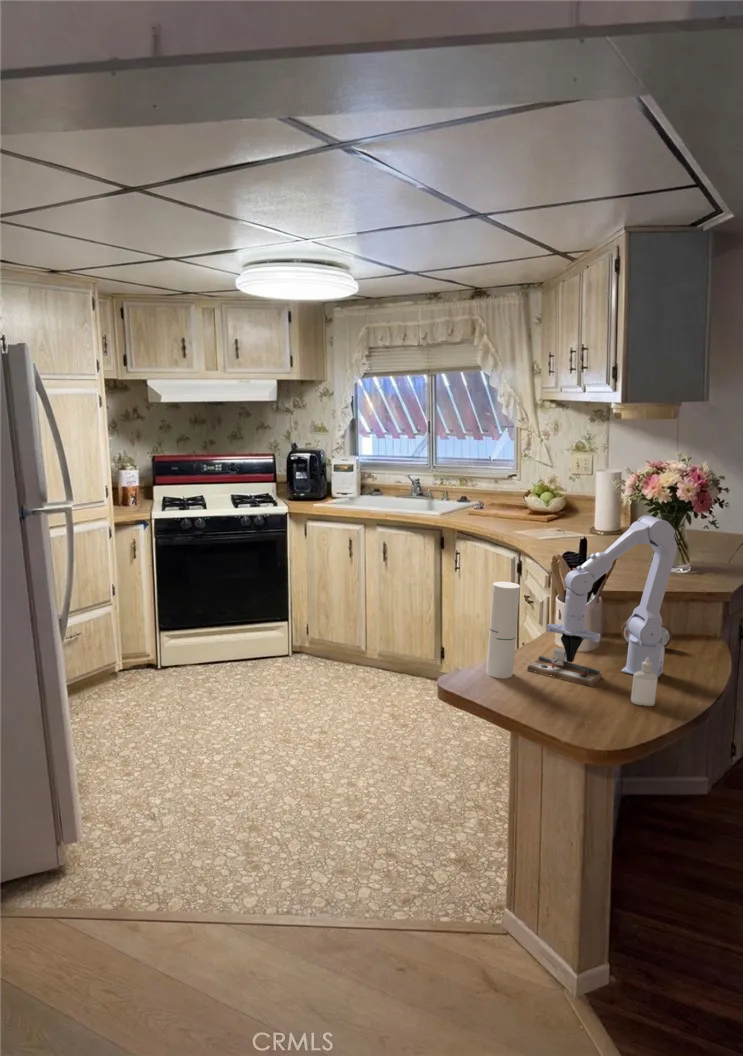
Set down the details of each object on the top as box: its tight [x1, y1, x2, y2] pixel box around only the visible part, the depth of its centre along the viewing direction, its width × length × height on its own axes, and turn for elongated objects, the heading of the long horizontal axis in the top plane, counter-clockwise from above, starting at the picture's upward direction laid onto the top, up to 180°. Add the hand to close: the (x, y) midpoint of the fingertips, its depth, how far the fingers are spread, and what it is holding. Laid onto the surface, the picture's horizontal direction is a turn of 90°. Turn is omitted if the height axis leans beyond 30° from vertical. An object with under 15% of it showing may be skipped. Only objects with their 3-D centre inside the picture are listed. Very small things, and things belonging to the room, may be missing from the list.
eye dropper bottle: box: [630, 658, 659, 707], centre depth 189 cm, size 4×6×12 cm
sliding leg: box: [551, 647, 567, 668], centre depth 210 cm, size 3×8×4 cm, turn 146°
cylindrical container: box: [485, 581, 521, 679], centre depth 204 cm, size 7×7×25 cm
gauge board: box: [527, 655, 603, 687], centre depth 208 cm, size 18×9×3 cm, turn 56°
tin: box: [620, 619, 673, 649], centre depth 235 cm, size 15×3×8 cm, turn 72°
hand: (570, 661), depth 210 cm, fingers closed
